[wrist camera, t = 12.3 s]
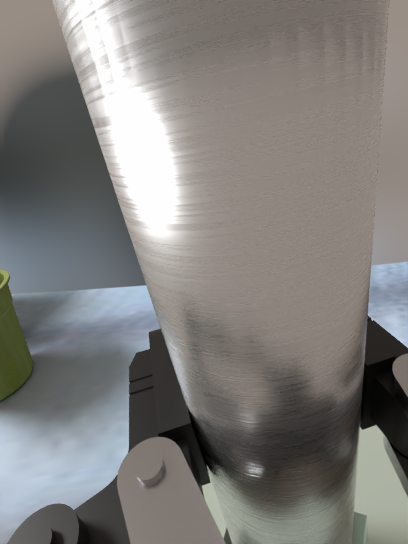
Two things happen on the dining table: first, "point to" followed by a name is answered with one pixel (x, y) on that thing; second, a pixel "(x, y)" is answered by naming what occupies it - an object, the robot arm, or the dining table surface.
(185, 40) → the long steel pin
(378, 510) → the hole block
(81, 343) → the dining table surface
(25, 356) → the plant pot
